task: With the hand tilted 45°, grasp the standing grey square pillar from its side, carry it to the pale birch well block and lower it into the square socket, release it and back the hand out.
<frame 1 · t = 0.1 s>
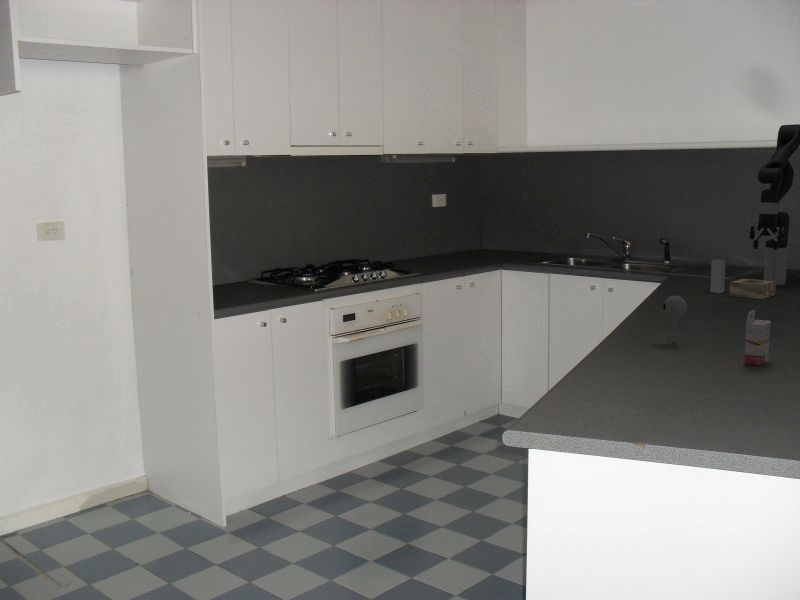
hand: (765, 249, 396), 17 cm above the worktop, tool pointing down, fingers open, 8 cm apart
lollipop: (673, 342, 282), on the worktop
ink cartridge box: (756, 363, 252), on the worktop
well block: (752, 295, 376), on the worktop
grey square pillar: (717, 292, 388), on the worktop
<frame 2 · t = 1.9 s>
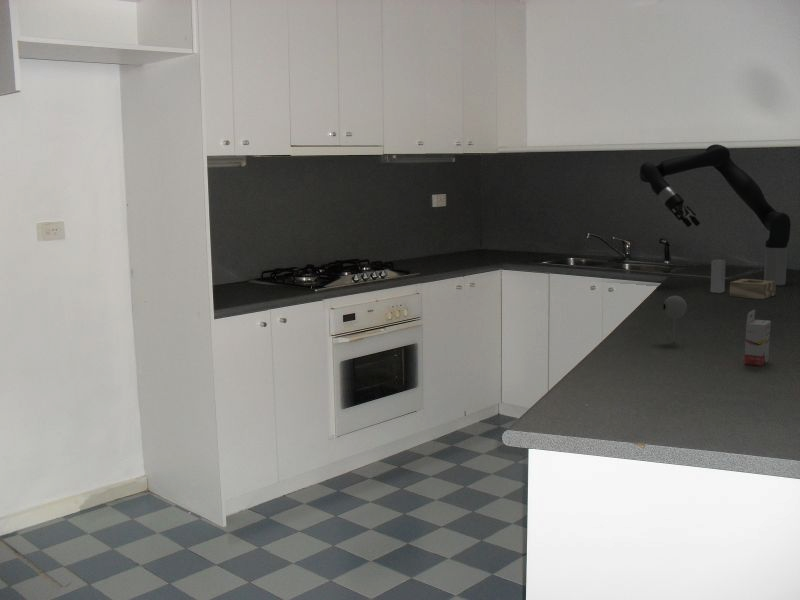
hand: (694, 225, 392), 29 cm above the worktop, tool tilted 45°, fingers open, 8 cm apart
nothing on the worktop moved.
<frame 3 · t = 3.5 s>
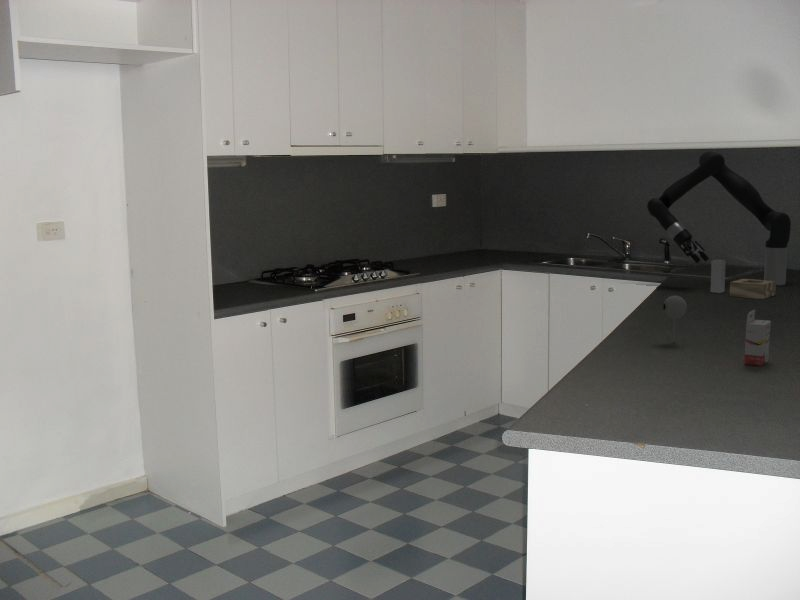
hand: (703, 260, 391), 13 cm above the worktop, tool tilted 45°, fingers open, 8 cm apart
nothing on the worktop moved.
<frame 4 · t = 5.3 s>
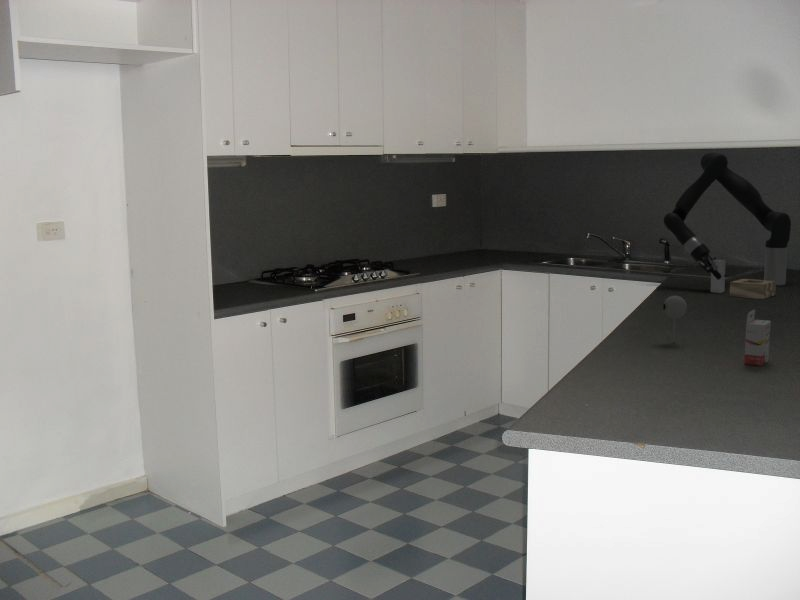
hand: (722, 277, 386), 7 cm above the worktop, tool tilted 45°, fingers closed on grey square pillar, 4 cm apart
grey square pillar: (717, 292, 388), on the worktop, touching gripper
everything else where it was.
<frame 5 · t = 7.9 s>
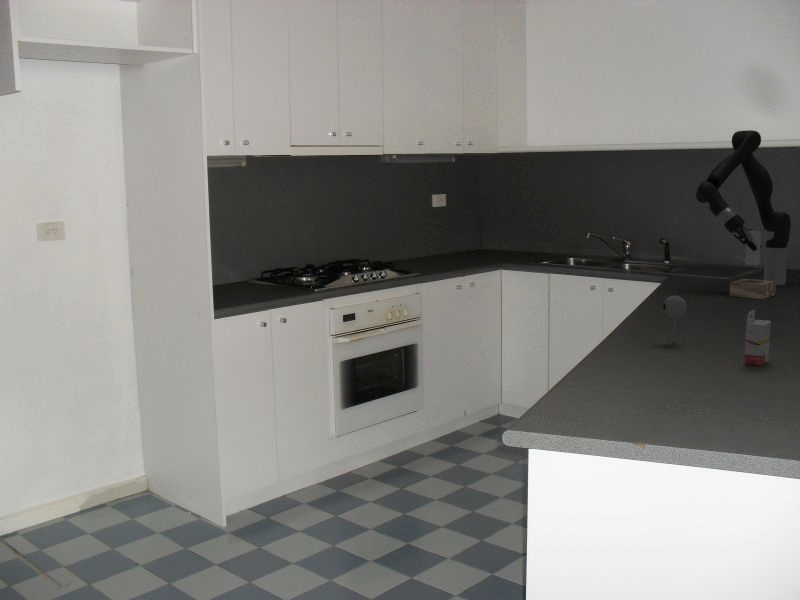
hand: (757, 249, 372), 20 cm above the worktop, tool tilted 45°, fingers closed on grey square pillar, 4 cm apart
grey square pillar: (752, 264, 375), point 13 cm above the worktop, touching gripper
everything else where it was.
when the fingers open (8 cm above the worktop, at t = 10.6 s): grey square pillar drops 1 cm, resting in well block.
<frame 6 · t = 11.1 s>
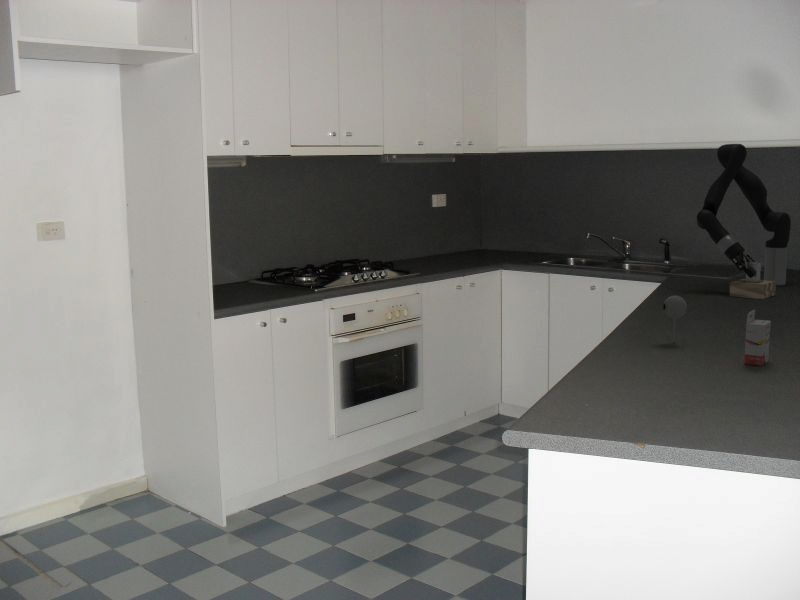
hand: (756, 275, 374), 9 cm above the worktop, tool tilted 45°, fingers open, 8 cm apart
grey square pillar: (752, 295, 376), resting in well block
everything else where it was.
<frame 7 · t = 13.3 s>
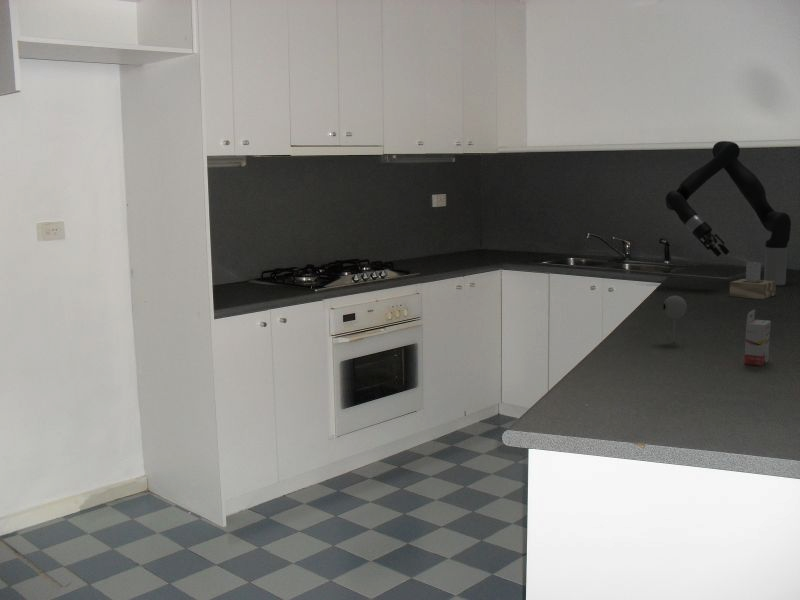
hand: (723, 254, 384), 17 cm above the worktop, tool tilted 45°, fingers open, 8 cm apart
nothing on the worktop moved.
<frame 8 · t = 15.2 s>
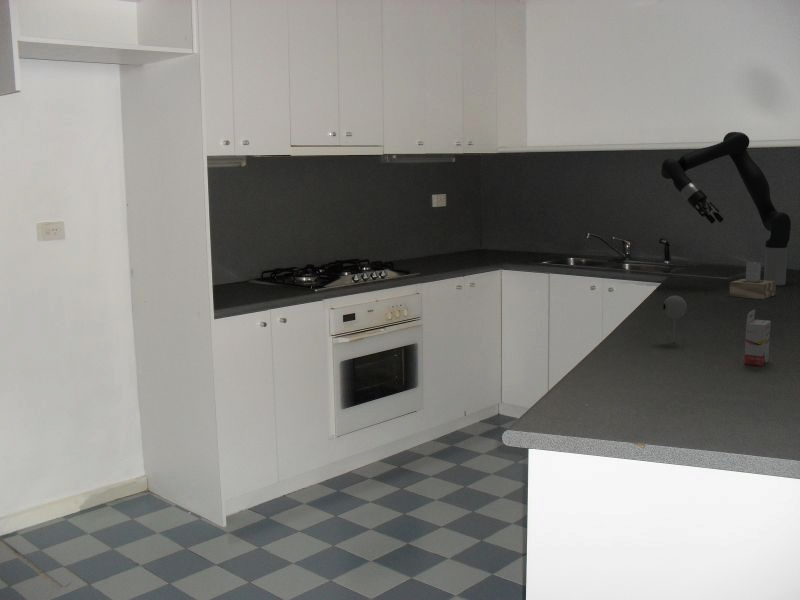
hand: (718, 221, 386), 31 cm above the worktop, tool tilted 45°, fingers open, 8 cm apart
nothing on the worktop moved.
at the end: grey square pillar 0.1 cm off-centre on the well block, point 0.0 cm above the well block's base; grey square pillar tilted 0°; the gripper is holding nothing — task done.
